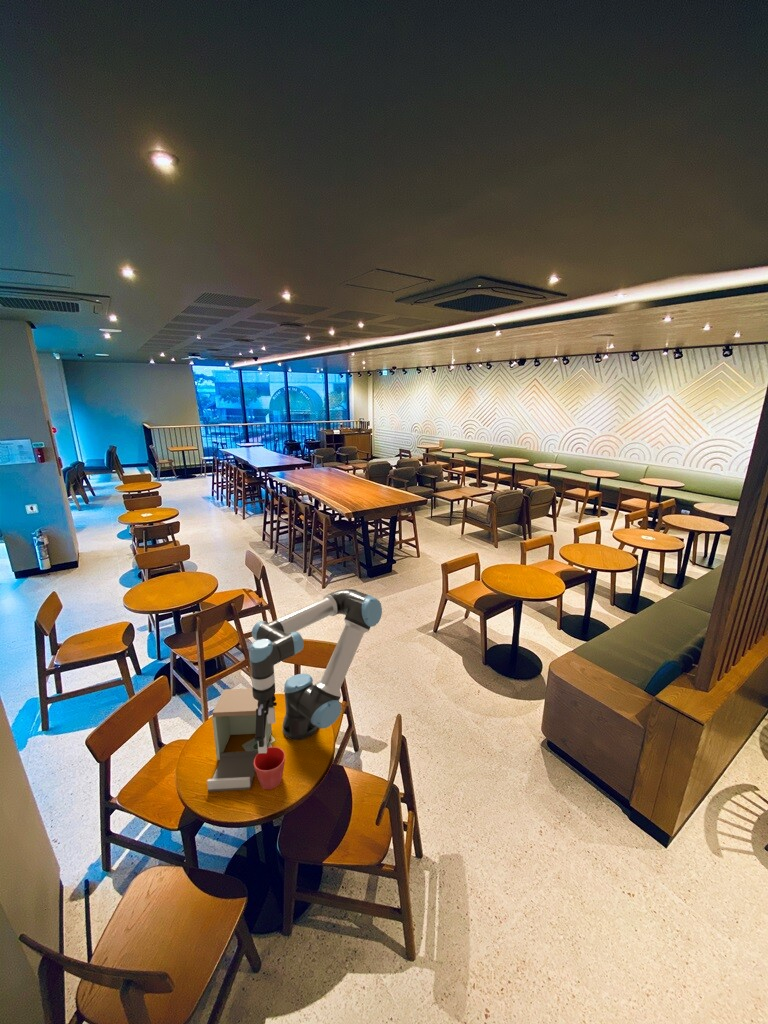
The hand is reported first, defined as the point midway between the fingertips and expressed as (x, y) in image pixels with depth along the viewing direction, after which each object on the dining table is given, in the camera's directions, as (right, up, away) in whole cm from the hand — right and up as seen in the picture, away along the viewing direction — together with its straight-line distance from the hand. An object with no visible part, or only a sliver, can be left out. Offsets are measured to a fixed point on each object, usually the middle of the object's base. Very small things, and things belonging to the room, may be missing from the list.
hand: (267, 737), depth 140 cm
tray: (-14, -17, +7) cm, 24 cm away
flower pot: (0, -18, +4) cm, 19 cm away
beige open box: (-15, -15, +20) cm, 29 cm away
